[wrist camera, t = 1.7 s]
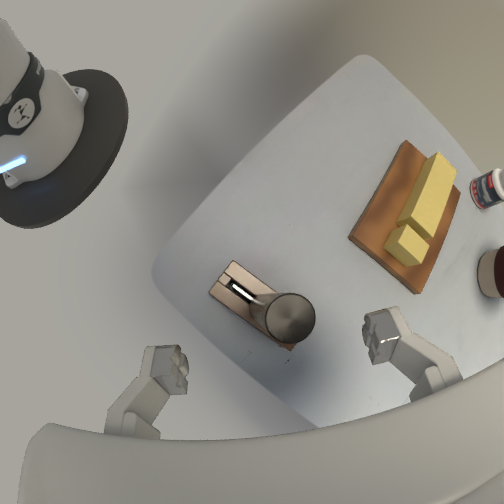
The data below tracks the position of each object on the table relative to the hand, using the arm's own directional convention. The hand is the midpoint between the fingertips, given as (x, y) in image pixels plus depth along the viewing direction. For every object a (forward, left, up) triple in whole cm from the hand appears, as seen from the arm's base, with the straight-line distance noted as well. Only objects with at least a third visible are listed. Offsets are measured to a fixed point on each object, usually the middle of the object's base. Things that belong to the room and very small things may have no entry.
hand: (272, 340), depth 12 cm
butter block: (+11, +25, -18) cm, 32 cm away
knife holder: (+1, +1, -19) cm, 19 cm away
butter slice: (+11, +16, -18) cm, 26 cm away
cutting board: (+11, +23, -19) cm, 32 cm away
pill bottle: (+22, +37, -19) cm, 47 cm away
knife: (+1, +1, -19) cm, 19 cm away
